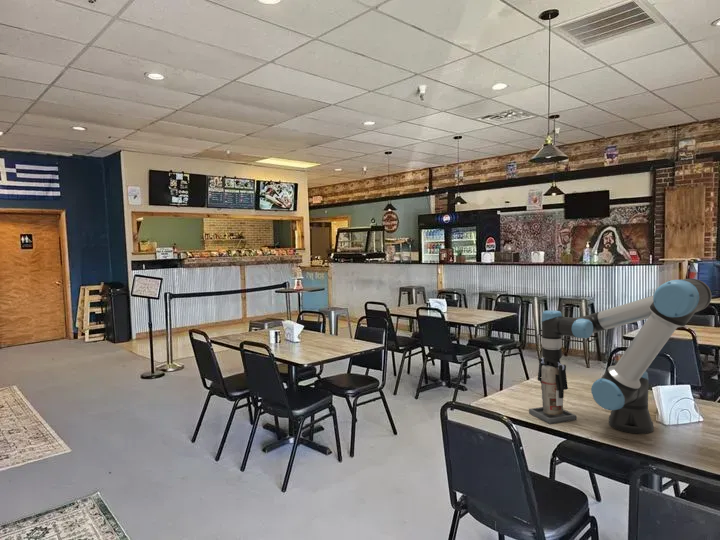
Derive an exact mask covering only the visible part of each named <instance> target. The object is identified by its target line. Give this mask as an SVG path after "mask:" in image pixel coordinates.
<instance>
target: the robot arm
mask: <svg viewBox="0 0 720 540" xmlns="http://www.w3.org/2000/svg"><path fill="white" fill-rule="evenodd" d="M712 295H713V294H712V291H711V289H710V287H709V285H708V284H706V283H705V282H704V281H703V280H700V279H696V278H683V279H672V280H669V281H666V282H664V283H661V285H659V286H658V287H657V288H656V289H655V291H654V293H653V295H651V296H647V297H644V298H641V299H637V300H635V301H630V302H628V303H624V304H620V305H618V306H615V307H611V308H608V309H603V310H601V311H598V312H594V313H592V314H591V313H590V314H588V315H584V316H583V315H582V316H576V317H567V316H563V314H562V312H561V311H560V310H553V309H551V310H550V309H549V310H548V309H547V310H543V311H542V315H541V331H542V333H541V334H542V335H541V347H542V348H541V356H542V357H541V358H539V359H538V372H537V381H539V382H540V385H541V386H540V387H541V388H540V389H541V391H542V381H541V378H542V373H541V372H542V366H543V365H545V366H546V365H549V366H552V367H555V368H557V367H558V369H559V375H556V374H555V381H556V385H557V389H556V406H562V405H563V406H564V395H565V393H564V391H566V390H568V387H569V385H568V380H567V372H566V369H567V365H566V364H562V363H561V358H562V357H563V351H562V350H563V349H562V343H563V342H562V341H563V339H562V337H563V336H564V337H572V338H577V339H589V338H590V337H591V336H593V334H595V333H600V332H603V331H606V330H610V329H614V328H617V327H621V326H625V325H628V324H629V325H630V324H632V323H637V322H640V321H645V320H646V321H645V322H644V323H643V325H642V326H641V328H640V329H639V331H638V332H637V334H636V335H635V337H634V338H633V339H632V341H631V342H630V344H629V345H628V347H627V348H626V349H625V351H624V353H623V354H622V355H621V357H620V359H619V360H618V361H617V363H616V364H615V365H610V366H608V367H607V369H606V371H605V372H604V373H603V374H602V376H601V378H598V379H596V380H595V381H593V383H592V384H591V388H590V389H591V391H590V393H591V395H592V398H593V400H594V402H595V403H596V404H597V405H598V406H599V407H601V408H602V409H604V410H607V411H610V415H608V425H609V426H610V427H611V428H613V429H615V430H618V431H621V432H625V433H630V434H637V435H638V434H641V435H642V434H644V435H645V434H651V433H652V432H653V431H654V422H653V420H652V418H651V414H650V411H649V380H650V379H649V373H648V371H647V370H648V368H649V367H650V366H651V364H652V363H653V362H654V360H655V358H656V357H657V356H658V354H660V352H661V350H662V349H663V348H664V346H665V345H666V343H668V341H669V340H670V338H671V337H672V335H673V334H674V332H676V330H677V329H678V328H682V327H683V328H684V327H686V325H687V324H688V322H689V321H690V320H691V319H692V317H693V316H694V315H695V313H697V312H700V311H703V310H704V309H706V308H707V307H708V306H709V305H710V303H711V301H712Z"/></svg>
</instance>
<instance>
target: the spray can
mask: <svg viewBox="0 0 720 540" xmlns="http://www.w3.org/2000/svg"><path fill="white" fill-rule="evenodd" d="M541 373H542V377H541V381H542V390H541V400H542V407H543V412H544V413H546V414H550V415H557V414H562V413H563V409H564V404H563V405H562V406H556V389H557V385H556V381H555V374H556V375H559V369H558V367H557V368H555V367H552V366H549V365H546V366H545V365H543V366H542V372H541Z"/></svg>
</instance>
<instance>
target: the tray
mask: <svg viewBox="0 0 720 540" xmlns="http://www.w3.org/2000/svg"><path fill="white" fill-rule="evenodd" d="M528 414H529V415H532V416H533V417H535V418H537V419H539V420H540V421H543V422H545V423H546V424H548V425H555V424H559V423H560V424H561V423H566V422H573V421H577V414H574V413H572V412H570V411H567V410H565V409H564V408H563V413H562V414H557V415H550V414H546V413H544V412H543V406H540V407H532V408H529V409H528Z"/></svg>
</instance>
